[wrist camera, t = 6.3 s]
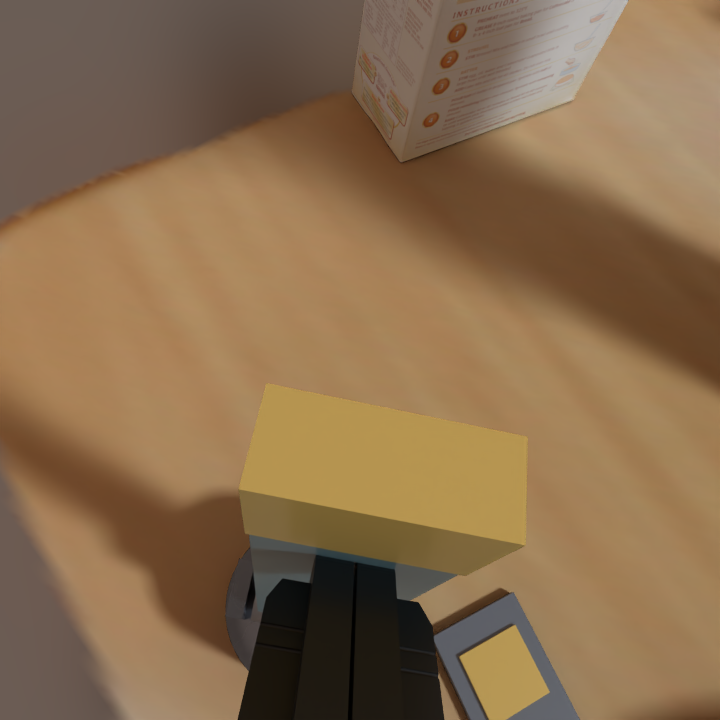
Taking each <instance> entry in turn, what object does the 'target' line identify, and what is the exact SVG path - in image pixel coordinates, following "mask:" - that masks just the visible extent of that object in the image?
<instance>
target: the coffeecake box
mask: <svg viewBox="0 0 720 720" xmlns="http://www.w3.org/2000/svg"><path fill="white" fill-rule="evenodd" d="M627 2H628V0H364V5H363V13H362V20H361V27H360V36H359V43H358V50H357V56H356V64H355V73H354V80H353V88H352V94H353V95H354V97H355V98H356V100H357V101H358V103H359V104H360V105H361V107H362V108H363V110H364V111H365V112H366V114H367V115H368V116H369V117H370V118H371V120H372V121H373V122H374V124H375V125H376V127H377V128H378V130H379V131H380V133H381V135H382V136H383V138H384V140H385V141H386V143H387V144H388V146H389V147H390V148H391V150H392V152H393V153H394V154H395V156H396V157H397V159H398V160H399V161H400V162H404V161H407V160H410V159H412V158H415V157H418V156H421V155H424V154H426V153H429V152H432V151H435V150H437V149H440V148H443V147H446V146H448V145H451V144H454V143H456V142H459V141H462V140H465V139H468V138H471V137H473V136H476V135H479V134H482V133H484V132H487V131H490V130H492V129H495V128H498V127H501V126H504V125H506V124H509V123H512V122H515V121H517V120H520V119H523V118H526V117H528V116H531V115H534V114H536V113H539V112H542V111H545V110H548V109H550V108H553V107H556V106H559V105H561V104H564V103H567V102H570V101H573V100H574V98H575V96H576V94H577V92H578V90H579V88H580V87H581V85H582V83H583V81H584V79H585V77H586V75H587V74H588V72H589V70H590V68H591V66H592V65H593V63H594V61H595V59H596V57H597V56H598V54H599V52H600V50H601V49H602V47H603V45H604V43H605V42H606V40H607V38H608V36H609V34H610V33H611V31H612V29H613V27H614V25H615V24H616V22H617V20H618V18H619V17H620V15H621V13H622V11H623V9H624V8H625V6H626V4H627Z"/></svg>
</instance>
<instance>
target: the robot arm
mask: <svg viewBox="0 0 720 720" xmlns="http://www.w3.org/2000/svg"><path fill="white" fill-rule="evenodd" d="M435 653H436V650H435V642H434V634H433V627H432V625H431V623H430V621H429V620H428V618H427V616H426V614H425V613H424V611H423V609H422V607H421V606H420V604H419V603H418V602H413V601H407V600H402V599H397V590H396V573H395V569H389V568H384V567H379V566H373V565H368V564H363V563H356V564H355V566H354V562H352V561H346V560H341V559H336V558H330V557H325V556H320V555H316V556H315V559H314V563H313V567H312V572H311V576H310V581H309V583H306V582H301V581H295V580H289V579H284V578H282V579H281V580H280V582H279V583H278V584H277V585H276V586H275V587H274V589H273V590H272V591H271V592H270V593H269V594H268V596H267V597H266V600H265V604H264V609H263V613H262V617H261V622H260V626H259V630H258V634H257V639H256V643H255V647H254V652H253V656H252V660H251V665H250V669H249V673H248V677H247V682H246V686H245V690H244V695H243V699H242V703H241V708H240V712H239V716H238V720H444V714H443V706H442V698H441V690H440V682H439V679H438V666H437V658H436V657H435Z"/></svg>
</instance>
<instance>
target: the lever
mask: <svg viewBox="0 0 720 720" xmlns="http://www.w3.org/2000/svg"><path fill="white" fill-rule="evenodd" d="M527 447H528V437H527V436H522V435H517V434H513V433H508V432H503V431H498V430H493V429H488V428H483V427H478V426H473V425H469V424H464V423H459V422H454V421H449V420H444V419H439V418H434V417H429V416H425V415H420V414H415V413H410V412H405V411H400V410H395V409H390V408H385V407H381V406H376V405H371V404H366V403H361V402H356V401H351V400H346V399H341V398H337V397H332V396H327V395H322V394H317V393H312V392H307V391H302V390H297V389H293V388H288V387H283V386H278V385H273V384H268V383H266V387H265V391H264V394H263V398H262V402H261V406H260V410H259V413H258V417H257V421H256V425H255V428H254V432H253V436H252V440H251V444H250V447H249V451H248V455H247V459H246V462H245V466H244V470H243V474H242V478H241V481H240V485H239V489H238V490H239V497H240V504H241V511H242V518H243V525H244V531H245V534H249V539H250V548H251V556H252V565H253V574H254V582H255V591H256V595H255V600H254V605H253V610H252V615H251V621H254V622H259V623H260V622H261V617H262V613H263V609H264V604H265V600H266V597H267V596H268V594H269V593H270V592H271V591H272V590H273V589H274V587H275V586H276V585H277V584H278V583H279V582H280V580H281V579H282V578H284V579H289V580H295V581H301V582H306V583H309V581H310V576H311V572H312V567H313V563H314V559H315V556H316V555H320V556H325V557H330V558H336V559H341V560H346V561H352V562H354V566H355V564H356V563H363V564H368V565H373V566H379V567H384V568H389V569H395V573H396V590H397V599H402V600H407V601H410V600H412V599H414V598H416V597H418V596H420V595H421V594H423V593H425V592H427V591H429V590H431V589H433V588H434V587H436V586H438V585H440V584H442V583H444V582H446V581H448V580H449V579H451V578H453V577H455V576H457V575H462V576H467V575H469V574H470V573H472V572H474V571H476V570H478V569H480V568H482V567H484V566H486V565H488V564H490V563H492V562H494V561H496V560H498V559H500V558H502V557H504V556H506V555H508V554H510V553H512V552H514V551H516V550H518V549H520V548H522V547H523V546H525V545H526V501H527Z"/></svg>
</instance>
